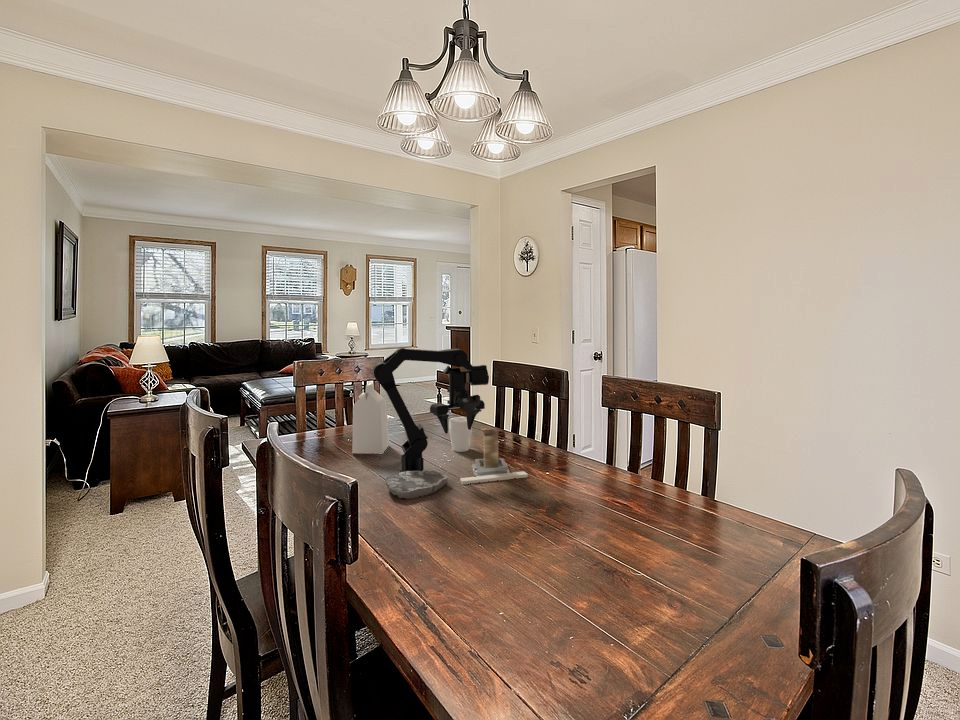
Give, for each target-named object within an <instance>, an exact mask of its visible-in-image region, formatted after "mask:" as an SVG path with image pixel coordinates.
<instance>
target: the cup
mask: <svg viewBox="0 0 960 720" xmlns="http://www.w3.org/2000/svg"><path fill="white" fill-rule="evenodd" d="M448 419H449V420H448V423H449V424H448V432H449V438H450V442H451V443H450V444H451V450H452V451H453V452H456V453H464V452H468V451H469V450H470V446H471V440H472V439H471V438H472V430H473V426H472V427H471V430H468V426H467V416H455V417H451V418H450V417H449V418H448Z"/></svg>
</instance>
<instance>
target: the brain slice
mask: <svg viewBox="0 0 960 720" xmlns="http://www.w3.org/2000/svg"><path fill="white" fill-rule="evenodd" d="M448 478H449V477H448V475H447V474H444V473H441V472H438V471H435V470H431V471H429V470H423V471H406V472H398V473H397V474H394V475H390V476H386V479H384V482H385V483H386V487H387V489H388V491H390V492H391V494H392V495H393V494H394V495H393V496H395V495H397V496H396V497H397V498H398V497H399V499H401V498H405V499H404V500H411V499H410V498H412V499H415V498H414V497H416V498H420V497H419V496H421V497H425V496H424V495H426V496H427V495H430V494H435V493H436V492H437V491H438V489H439V490H440V489H442V487H444V486H445V484H447V481H448Z"/></svg>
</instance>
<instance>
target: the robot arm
mask: <svg viewBox="0 0 960 720" xmlns="http://www.w3.org/2000/svg"><path fill="white" fill-rule="evenodd" d="M468 359H469V358H468V353H466V351H464V350H463V349H460V348H449V349H448V348H447V349H442V350H432V349H431V350H429V349H418V348H405V347H399V348H397V349H396V350H395V351H394V352H393V353H392V354H389V356H387V357H386V358H385V359H384V360H383V361H379V362H376V363H374V365H373V366H372V374H373V376H374V378H375V380H376V381H377V383H379V385H380V386H381V387H382V389H383V390H384V391H385V393H386V394H387V396H388V398H389V400H390V402H391V404H392V406H393V409H394V410H395V412H396V414H397V416H398V418H399V419H400V422H401V424H402V426H403V429H404V432H405V436H406V441H405V442H404V443H403V444H402V445H401V449H402V452H403V454H401V455H400V456H401V458H400V460H401V462H400V463H401V469H399V471H400V472H406V471H425V468H424V467H425V466H424V457H423V452H424V451H425V450H426V449H427V448H428V444H429V443H428V440H429V437H428V435H427V434H426V433H425V431H424V427H423V426H422V424H421V423H419V424H418V425H416V423H415V421H414V419H413V418H412V415H411V414H410V412H409V409H408V408H407V405H406V403H405V401H404V399H403V397H402V396H401V394H400V392H399V390H398V387H397V384H396V381H395V377H394V372H395V371H396V370H397V369H398V368H399V366H401V365H402V363H404V362H405V361H412V362H413V361H414V362H431V363H442V364H444V365H447V366H446V368H445V369H443V371H442V372H443V373H444V374H445V375H446V374H447V375H448V381H449V382H448V383H449V384H448V385H449V386H448V388H447V389H446V391H447V392H448V393H449V394H448V396H449V397H448V400H447V401H446V402H447V403H446V404H445V403H443V402H442V403H441V402H439V403H432V404H431V405H430V407H429V413H430V414H433V415H434V416H436V418H437V419H438V421H439V423H440V425H441V427H442V429H443V431H444V433H445V434H446V435H447V434H448V432H449V424H448V423H449V420H448V419H449V418H450V417H449V416H450V414H449V412H450V411H455V410H461V411H462V412H464V413H466V415H465V417H467V426H468V430H471V427H472V428H473V425H474V421H475V418H476V416H477V415H478V414H480V413H479V412H482V410H485V407H486V406H485V405H486V404H485V402H484V400H482V399H481V396H480V395H479V394H474V395H470V392H469V389H467V383H468V384H469V385H470V386H487V385H488V384H489V382H490V375H489V371H488V369H487V368H488V366H487V365H485V364H481V365H472V363H471V362H470V361H469V360H468ZM451 366H453V367H451ZM461 368H462V369H463V370H462V369H461ZM427 439H428V440H427ZM400 472H399V473H400Z"/></svg>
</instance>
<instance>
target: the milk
mask: <svg viewBox="0 0 960 720" xmlns="http://www.w3.org/2000/svg"><path fill="white" fill-rule="evenodd" d="M374 388H375V385H374V383H373V382H369V383H367V384H366V385H365V389H364V391H365V392H361V394H359V396H358V400H357V401H355V402H354V404H353V407H352V444H351V445H352V447H351V448H352V449H351V450H352V451H351V452H352V453H375V454H376V453H379V454H383V453H384V451H385V450H386V449H387V447H388V446H389V447H390V437H389V435H390V434H389V423H388V407H387V401H386V399H385V398H384V397H383V396H382V395H381V394H380V393H379V392H378V391H376V390H375V389H374ZM389 447H388V448H389ZM387 450H388V449H387ZM387 450H386V451H387ZM386 451H385V452H386ZM352 453H351V454H352ZM384 454H385V453H384ZM384 454H383V455H384Z"/></svg>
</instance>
